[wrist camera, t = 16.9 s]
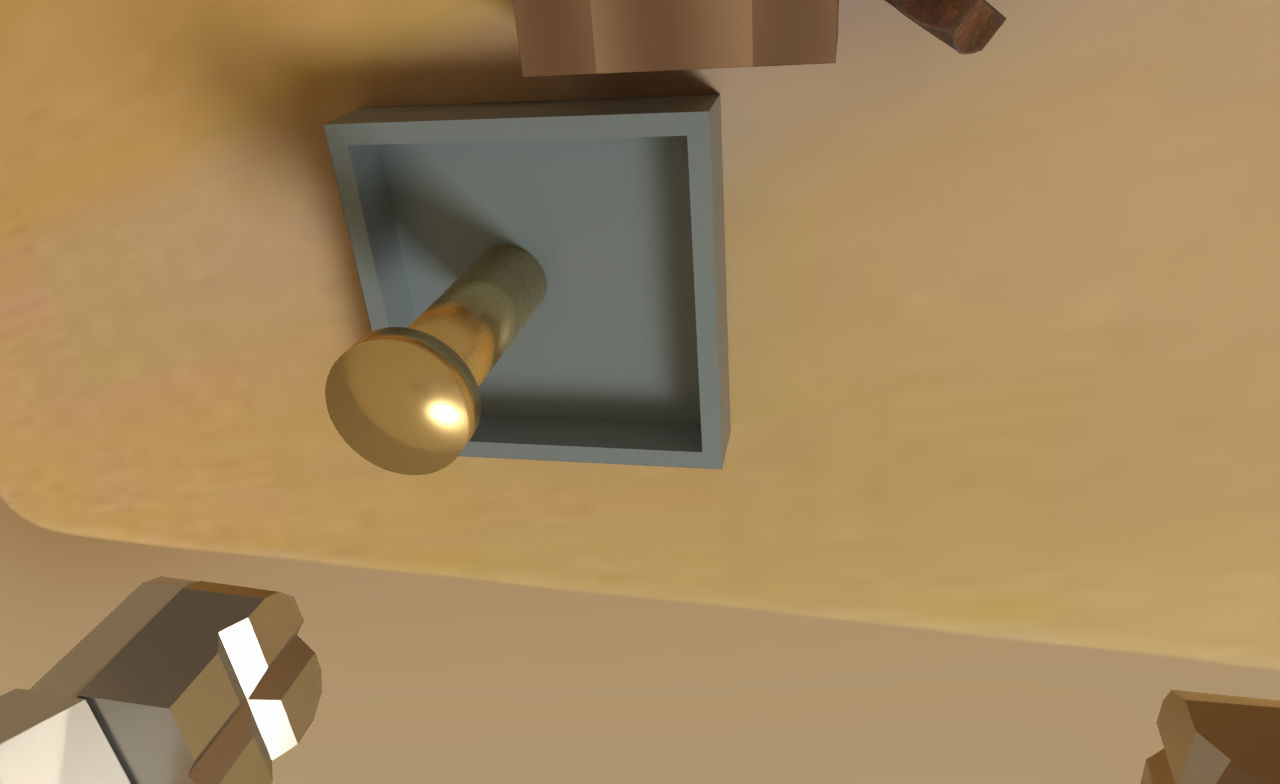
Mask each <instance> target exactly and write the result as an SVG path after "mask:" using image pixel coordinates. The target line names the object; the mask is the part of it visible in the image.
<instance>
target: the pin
mask: <svg viewBox="0 0 1280 784" xmlns="http://www.w3.org/2000/svg"><path fill="white" fill-rule="evenodd" d="M546 291H547V280H546V275H545V272H544V270H543V268H542V266H541V264H540V263H539V262H538V260H537V259H536V258H535V257H534V256H533V255H532V254H530V253H529V252H528V251H526V250H524V249H522V248H520V247H517V246H514V245H497V246H494V247H491V248H490V249H488V250H486V251H485V252H484V253H483V254H482V255H481V256H480V257H479V258H478V259H477V260H476V261H475V262H474V263H473V264H472V265H471V266H470V267H469V268H468V269H467V270H466V271H465V272H464V273H463V274H462V275H461V276H460V277H459V278H458V279H457V280H456V281H454V282H453V283H452V284H451V285H450V286H449V287H448V288H447V289H446V290H445V291H444V292H443V293H442V294H441V295H440V296H439V297H438V298H437V299H436V300H435V301H434V302H433V303H432V304H431V305H430V306H429V307H428V308H427V309H426V310H425V311H424V312H423V313H422V314H421V315H420V316H419V317H418V318H417V319H416V320H415V321H414V322H413V323H412V324H411V325H410V326H409V327H408V328H404V327H387V328H382V329H378V330H375V331H372V332H370V333H368V334H366V335H365V336H363V337H362V338H361V339H359V340H358V341H357V342H356V343H355V344H354V345H353V346H352V347H351V348H349V349H348V350H347V351H346V352H345V353H344V354H343V355H342V356H341V357H340V358H339V359H338V360H337V361H336V362H335V363H334V365H333V366H332V368H331V370H330V372H329V375H328V377H327V382H326V389H325V395H326V404H327V409H328V412H329V415H330V418H331V420H332V422H333V424H334V426H335V427H336V429H337V431H338V432H339V434H340V435H341V436H342V438H343V439H344V440H345V442H346V443H347V444H348V445H349V446H350V447H351V448H352V449H353V450H354V451H356V452H357V453H358V454H359V455H360V456H362V457H363V458H365V459H366V460H368V461H369V462H371V463H373V464H374V465H376V466H379V467H381V468H383V469H386V470H389V471H392V472H395V473H400V474H406V475H423V474H429V473H433V472H436V471H439V470H441V469H443V468H445V467H446V466H448V465H449V464H451V463H452V462H453V461H454V460H455V459H456V458H457V457H458V455H459V454H460V453H461V451H462V450H463V448H464V447H465V446H466V444H467V443H468V441H469V440H470V438H471V437H472V435H473V434H474V432H475V430H476V429H477V426H478V424H479V421H480V416H481V396H480V392H479V388H478V387H479V386H480V384H481V383H482V382H483V380H484V379H485V378H486V376H487V375H488V374H489V372H490V371H491V370H492V368H493V367H494V366H495V364H496V363H497V362H498V360H499V359H500V358H501V356H502V355H503V354H504V352H505V351H506V350H507V348H508V347H509V346H510V344H511V343H512V342H513V340H514V339H515V338H516V336H517V335H518V334H519V332H520V331H521V330H522V328H523V327H524V326H525V324H526V323H527V322H528V320H529V319H530V318H531V316H532V315H533V314H534V312H535V311H536V310H537V308H538V307H539V306H540V304H541V303H542V302H543V300H544V298H545V295H546Z"/></svg>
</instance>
